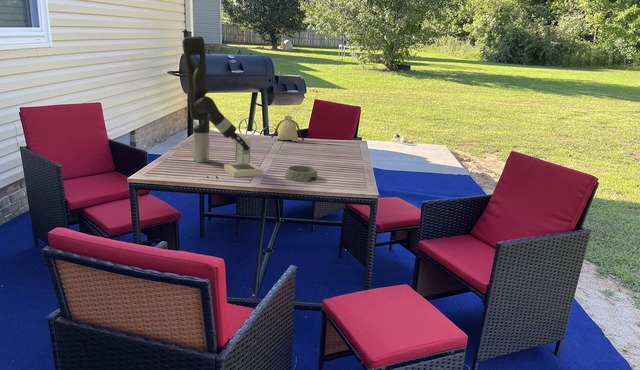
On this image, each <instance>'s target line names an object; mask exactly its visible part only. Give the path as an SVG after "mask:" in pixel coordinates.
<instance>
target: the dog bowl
mask: <svg viewBox="0 0 640 370" xmlns="http://www.w3.org/2000/svg"><path fill="white" fill-rule="evenodd" d="M314 178H315V179H316V181H318V180H319V177H318V170H317V169H316V167H313V166H308V165H304V164H303V165H302V164H300V165H299V164H298V165H295V164H294V165H290V166H287V168H286V171H285V175H284V179H286V180H288V181H291V182H295V183H308V182H309V181H310V180H312V179H314Z"/></svg>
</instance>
